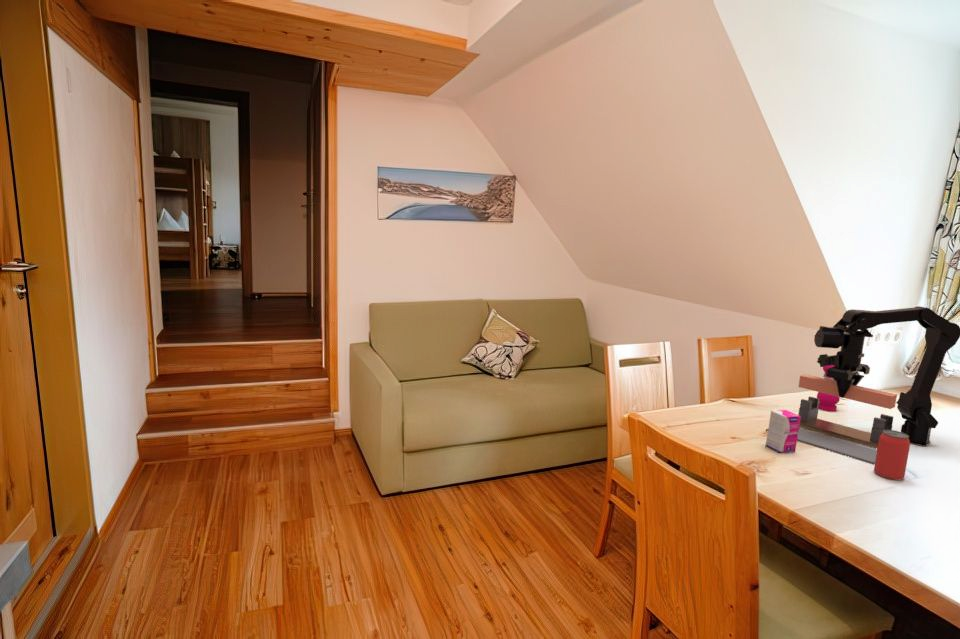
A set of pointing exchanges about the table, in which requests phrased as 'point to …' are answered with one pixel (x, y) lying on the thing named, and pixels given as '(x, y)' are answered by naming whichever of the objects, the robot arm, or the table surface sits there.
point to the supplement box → (783, 431)
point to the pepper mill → (827, 396)
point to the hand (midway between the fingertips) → (844, 396)
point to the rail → (849, 391)
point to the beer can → (892, 454)
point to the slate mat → (837, 445)
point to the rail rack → (811, 422)
